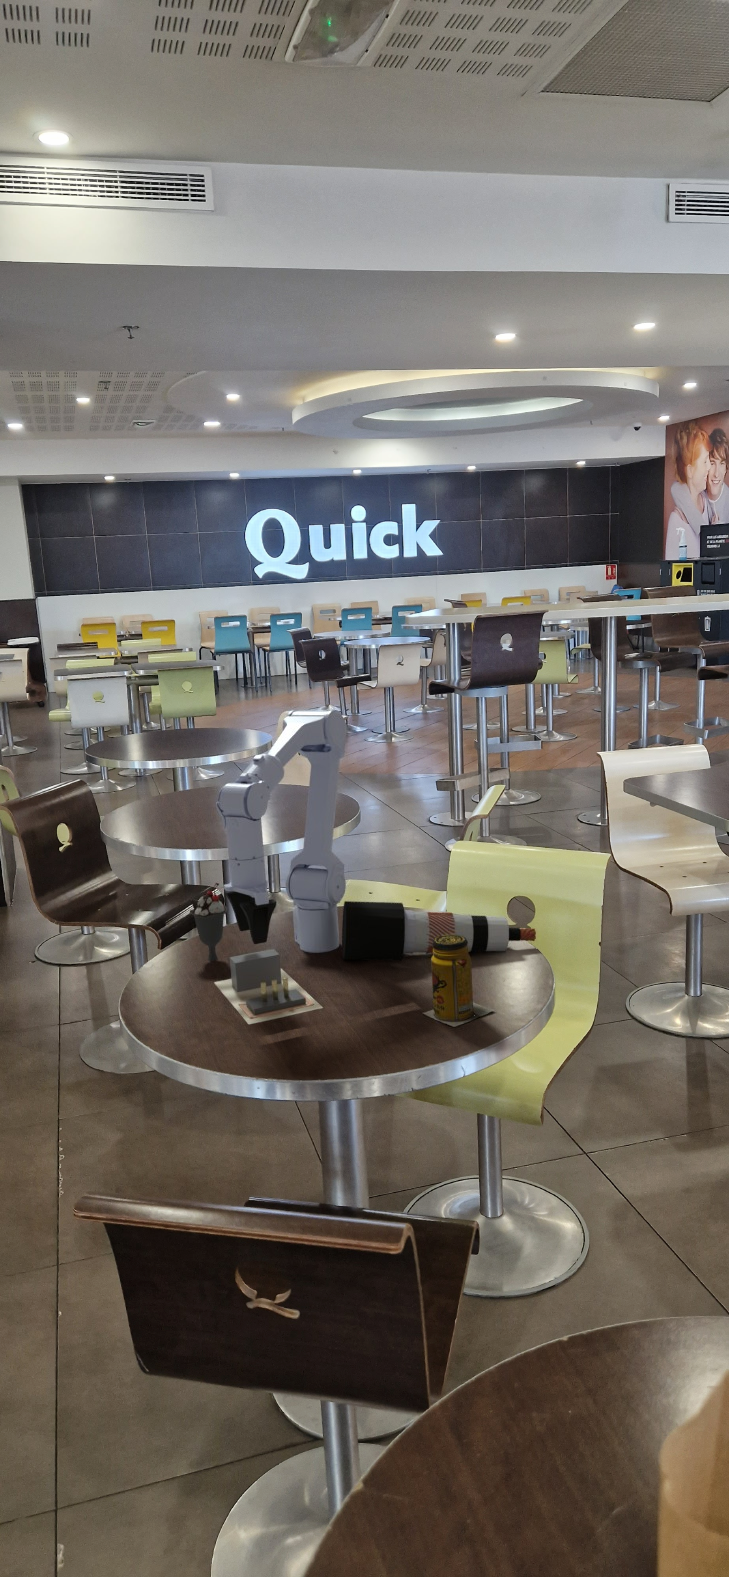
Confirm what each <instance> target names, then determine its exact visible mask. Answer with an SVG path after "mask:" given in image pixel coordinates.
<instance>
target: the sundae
mask: <svg viewBox="0 0 729 1577" xmlns="http://www.w3.org/2000/svg"><path fill="white" fill-rule="evenodd" d="M218 886H220V883H219V882H215V884H214V885H213V887H211V889H210V890H208V891H207V892H206V894H205V895H204V894H203V895H202V896H200V898H199V899H198V900H197V899H193V898H191V899H190V902H191V905H192V908H193V909H190V910H189V914H190V915H192V916H193V917H194V921H195V925H196V929H197V934H198V938H199V941H201V943H202V944H204V945H205V946H207V948H208V957H207V961H209V962H215V961H218V960H219V957H218V956H217V953H216V952H217V951H216V946H217V945H218V944H219V943H220V942H221V940H222V939H223V935H224V934H223V933H224V917H225V914H226V913H228V907H227V905H225V904H223V902H222V901H220V900H219V899H220V897H219V895H217V894H216V888H217V887H218Z"/></svg>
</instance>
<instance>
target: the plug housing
mask: <svg viewBox="0 0 729 1577" xmlns="http://www.w3.org/2000/svg"><path fill="white" fill-rule="evenodd" d="M280 956H281V955H280V953H279V952H277V951H276V949H274V948H270V949H266V950H261V951H256V952H250V953H245V954H241V955H235V956H230V957H229V965H230V976H231V977H230V979H232V987H233V988H234V989H235V990H236V991H237V992H242V991H247V990H251V989H256V988H261V982H266V986H270V985H272V980H277V984H280V983H282V981H281V969H282V968H281V958H280Z"/></svg>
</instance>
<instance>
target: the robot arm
mask: <svg viewBox="0 0 729 1577" xmlns="http://www.w3.org/2000/svg"><path fill="white" fill-rule="evenodd" d="M347 730H348V725H347V723H346V720H345V719H344V716H343V714H342V713H341V712H340V710H337V709H331V710H299V709H293V710H290V711H289V712H288V713H287V714H286V717H284V718H283V720H282V732H281V733H280V734H279V736H278V738H277V739H276V740H275V742H274V743H273V745H272V746H271V748H270V749H269V751H268V752H267V753H261V754H256V755H254V757H253V758H252V761H251V762H250V763H249V764H248V766H247V767H246V768H245V769H244V771H242V772H241V774H240V775H239V776H238V778H237V779H236V780H235V781H234V782H228V783H226V784H225V785H224V786H222V787H221V789H220V790H219V791H218V794H217V801H216V803H215V807H216V810H217V813H218V815H219V816H220V818H221V822H222V827H223V829H225V830H226V842H227V844H226V845H227V853H228V864H229V875H230V877H229V878H230V882H229V883H227V884H226V883H225V884H224V885H223V889H224V892H223V893H224V894H225V896H226V898H227V900H228V901H229V903H230V905H231V908H232V910H233V914H234V916H235V920H236V924H237V926H238V930H239V932H245V931H249V933H250V938H251V940H252V944H254V945H260V944H264V943H267V941H268V936H269V929H270V923H271V921H272V920H271V918H272V916H273V914H274V911H275V909H276V907H277V901H276V899H274V898H270V899H269V891H268V886H269V885H268V880H267V877H266V876H267V875H266V863H265V852H264V837H263V825H262V817H263V816H264V815H266V812H267V809H268V806H269V804H268V803H269V801H270V799H271V794H272V793H273V791H274V790H275V789H276V788H277V786H278V785H279V784H280V782H281V781H282V780H283V779H284V777H285V769H284V767H285V766H286V765H287V764H288V763H289V762H290V761H291V760H292V759H293V758H294V757H295V756H296V755H297V754H300V755H301V756H302V757H304V758H306V759H307V761H308V762H309V763H310V772H309V773H310V775H309V784H308V793H307V795H308V796H307V806H306V816H305V827H304V837H303V838H304V839H303V849H302V850H301V851H300V852H298V853H297V854H296V855H294V856H293V857H292V858H291V860H290V865H289V866H290V867H289V870H288V873H287V875H286V877H285V878H286V879H285V892H286V894H287V896H288V898H289V899H290V900H292V901H293V906H294V908H293V911H292V920H293V931H294V932H293V934H294V942H295V943H297V944H298V945H299V948H300V950H302V951H303V952H306V953H314V954H315V953H317V954H319V953H327V952H331V951H334V950H336V949H337V948H339V946H340V934H339V933H340V932H339V917H338V904H339V903H341V901H342V900H343V897H344V896H345V894H346V889H347V888H346V886H347V885H346V884H347V883H346V876H345V864H344V862H343V861H342V860H341V859H340V858H339V857H338V856H337V855H336V854H335V853H334V852H333V841H334V840H333V839H334V829H335V820H336V819H335V818H336V809H337V808H336V807H337V795H338V785H339V775H340V774H339V773H340V766H341V765H340V764H341V759H342V758H343V757H344V756H345V750H346V742H347ZM311 866H319V867H323V868H316V867H315V868H313V867H311ZM324 868H326V869H324Z"/></svg>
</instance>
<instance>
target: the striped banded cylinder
mask: <svg viewBox="0 0 729 1577" xmlns="http://www.w3.org/2000/svg"><path fill="white" fill-rule="evenodd" d="M341 924H342V927H341V929H342V930H341V951H342V952H341V954H342V959H343V960H351V961H352V960H353V961H354V960H359V961H360V960H362V961H402V960H403V956H404V954H414V953H417V954H418V953H419V954H420V953H425V954H426V955H427V954H433V940H434V939H435V938H437V937H439V936H442V935H460V936H463V937H465V938H466V939H467V941H468V945H467V946H468V953H471V952H506V951H508V948H509V947H508V946H509V942H520V941H521V942H522V941H525V942H527V941H529V942H531V941H532V942H535V941H536V938H537V936H536V935H537V931H536V928H520V927H510V926H509V920H508V918H507V917H506V916H486V915H474V914H473V915H472V914H463V913H462V914H460V913H458V914H457V913H456V914H454V913H452V912H439V911H438V912H436V911H414V910H412V909H411V910H406V909H405V906H404V904H403V902H392V901H391V902H389V901H386V902H385V901H355V900H354V901H349V900H348V901H347V900H345V901H344V902H343V909H342V922H341Z"/></svg>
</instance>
